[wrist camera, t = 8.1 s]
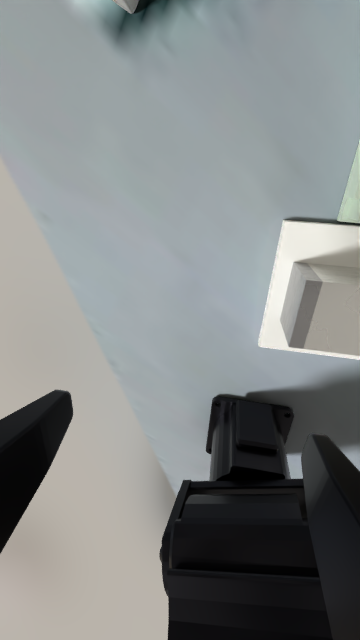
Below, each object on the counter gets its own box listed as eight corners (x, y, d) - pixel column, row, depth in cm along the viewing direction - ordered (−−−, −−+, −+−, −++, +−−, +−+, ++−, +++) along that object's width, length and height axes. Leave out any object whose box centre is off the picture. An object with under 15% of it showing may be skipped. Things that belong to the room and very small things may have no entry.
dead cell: (374, 330, 19) (402, 361, 16) (279, 320, 19) (288, 347, 16) (399, 271, 17) (436, 292, 14) (293, 261, 18) (306, 279, 14)
